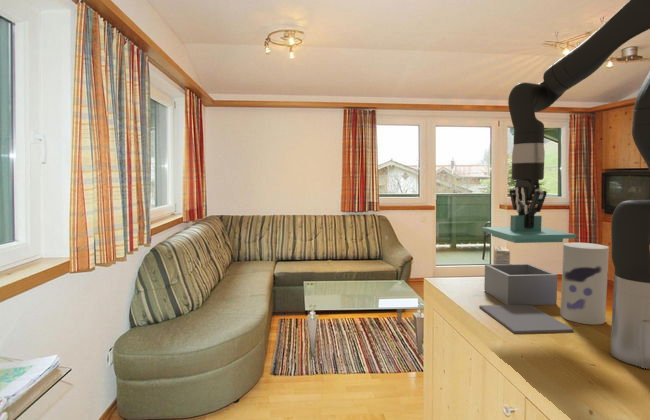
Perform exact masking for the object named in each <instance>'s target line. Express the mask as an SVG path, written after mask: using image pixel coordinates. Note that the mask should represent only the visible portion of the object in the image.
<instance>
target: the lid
mask: <svg viewBox="0 0 650 420" xmlns="http://www.w3.org/2000/svg"><path fill="white" fill-rule="evenodd" d="M542 218H543V216H542V215H538V214H535V215H534V228H530V229H527V228H525V227H524V220H525V215H518V214H512V215H511V214H510V226H482V227H481V230H482V232H486V233H489V234H491V236H492V237H494V238H498V239H502V240H505V241H508V242H511V243H514V244H524V243H525V244H532V243H534V244H537V243H538V244H539V243H563V242H564V239H565V240H566V239H571V240H573V239H576V237H577V236H576V234H575V233H570V232H567V231H566V232H565V231H561V230H556V229H552V228H546V227H543V226H542V220H543V219H542Z"/></svg>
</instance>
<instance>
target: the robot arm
mask: <svg viewBox="0 0 650 420" xmlns="http://www.w3.org/2000/svg"><path fill="white" fill-rule="evenodd" d="M649 30H650V0H628V1H627V2H626V3H625V4H624V5H623V6H622V7H620V8H619V9H618V10H617V11H616V12H615V13H614V14H613V15H612V16H611V17H610V18H609V19H608V20H607V21H606V22H604V23H603V24H601V26H600V27H599V28H598V29H597V30H596V31H595V32H593V33H592V34H591V35H589V37H588V38H586V39H585V40H584V41H583V42H582V43H580V44H579V45H578V46H576V47H574V48H573V49H572V50H571V51H569V52H568V53H567V54H565V55H564V56H562V57H560V58H559V59H558V60H557V61H556V62H554V63H553V64H552V65H550V66H549V67H548V68H546V70H544V73H543V76H542V79H543V81H541V82H539V83H534V82H525V81H524V82H519V83H518V84H516V85H514V86H513V88H512V89H511V90H510V91H509V92H510V93H509V96H508V102H507V103H508V110H509V114H510V119H511V124H512V127H513V147H512V153H511V180H512V181H515V185H514V189H510V190H509V191H508V193H509V196H510V201H511V205H512V209H513V211H516V213H517V215H525V220H524V227H525V228H527V229H530V228H534V215H537V213H540V212H541V210H542V209H543V208H542V207H543V205H544V202H545V200H546V197H547V194H548V193H547V191H546V190H541V189H540V188H541V187H540V183H539V182H540V181H542V180H544V179H545V177H544V176H545V175H544V174H545V154H546V153H545V151H546V150H545V125H544V123H543V121H540V120H539V119H537V117H536V113H538V112H539V113H540V112H541V111H544V110H546V109H548V108H550V107H551V106H552V105H554V103H555V102H556V101H557V100H559V99H560V97H562V96H563V95H564V93H565V92H566V91H568V90H570V89H571V88H573V87H574V86H576V85H577V84H579V83H580V82H582V81H583V80H585V79H587V78H588V77H590V76H591V75H593V74H594V73H596V72H597V71H598V69H600V67H601V66H602V65H603V64H604V63H605V62H606V61H607V60H608V59H609V58H610V56H611V55H612V54H613V53H614V52H616V51H617V50H618V49H619V48H620V47H622V46H623V45H624V44H625V43H627V42H628V41H630V40H631V39H633V38H635V37H637V36H638V35H641V34H642V33H644V32H646V31H649ZM633 105H634V106H633V107H634V108H633V115H632V124H631V136H632V139H633V142H634V144H635V147H636V149H637V150H638V152H639V154H640V155H641V157H642V159H643V161H644V162H645V165H646V166H647V168H648V170H649V172H650V70H649V71H648V74H647V75H646V77H645V79H644V81H643V82H642V85H641V86H640V89H639V91H638V93H637V95H636V97H635V102H634V104H633ZM610 225H611V227H610V228H611V229H610V231H611V232H610V233H611V235H610V236H611V240H610V241H611V259H612V263H613V266H614V273H613V274H614V276H613V278H614V279H613V292H612V293H613V295H612V313H611V329H610V351H609V353H610V354H611V356H612V357H614V358H616V359H617V360H618V361H621V362H624V363H625V364H629V365H633V366H636V367H638V366H639V368H640V367H641V368H640V369H642V368H644V370H645V368H646V369H648V370H649V369H650V199H631V200H630V199H629V200H625V201H622V202H620V203H618V205H616V207H615V208H614V210H613V214H612V216H611V224H610Z"/></svg>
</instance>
